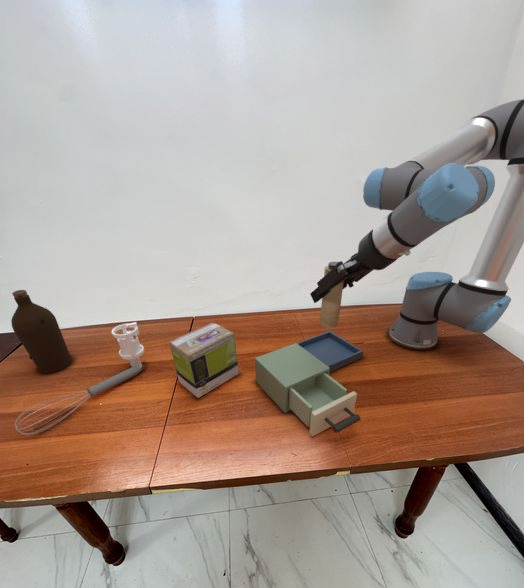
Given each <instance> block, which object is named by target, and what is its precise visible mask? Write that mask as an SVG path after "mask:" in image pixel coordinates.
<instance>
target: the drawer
mask: <svg viewBox="0 0 524 588" xmlns="http://www.w3.org/2000/svg"><path fill="white" fill-rule="evenodd" d="M357 398H358V392H356V391H355V390H353V391H351V392H348V389H347V388H346V387H344V386H343V385H342V384H341V383H340V382H338V380H337V381H336V379H334V378H333V377H332V376H330V374H329V375H328V374H326V373H322V374H320V375H318V376H316V377H313V378H311V379H309V380H307V381H304V382H302V383H300V384H297V385H295V386H293V387H291V388H288V407H289V408H290V409H291V410H290V411H292V412H293V413H294V415H295V416H297V417H298V418H299V419H300V420H301V422H302V423H303V424H305V426H306V427H307V428H309V434H310V436H311V437H314V436H317V435H318V434H320V433H322V432H324V431H325V430H327V429H329V428H331V429H332V432H334V434H338V433H339V432H342V431H344V430H346V429H347V428H349V427H351V426H352V425H354V424H356V423H357V422H359V421H361V416H360V415H359V413H354V412H355V407H356V404H357V403H356V402H357Z"/></svg>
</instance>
